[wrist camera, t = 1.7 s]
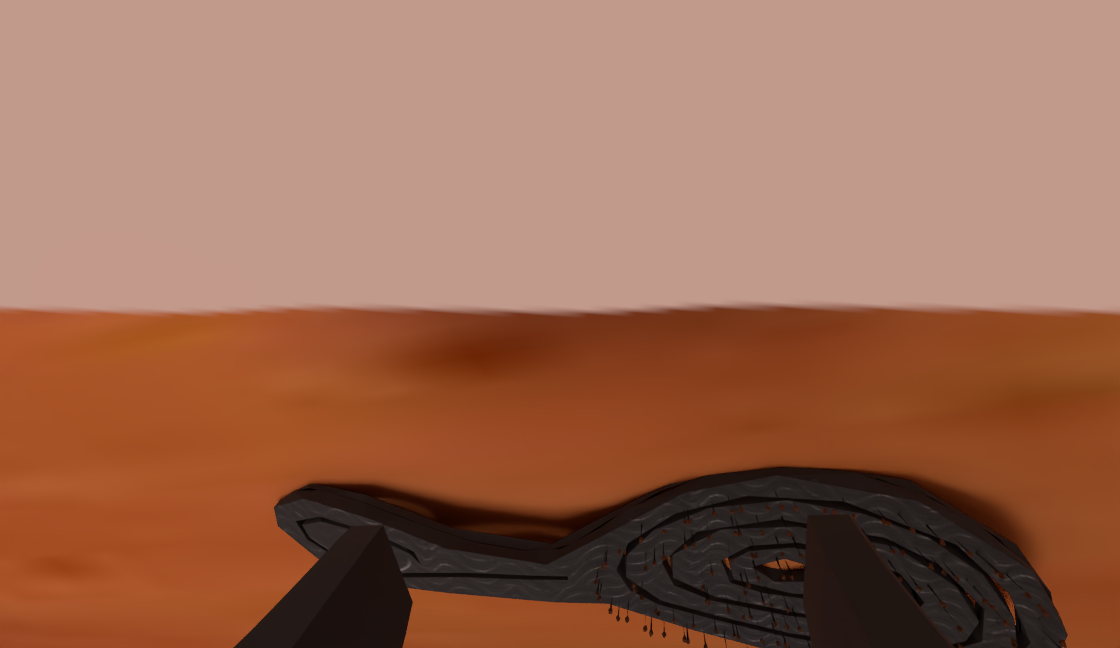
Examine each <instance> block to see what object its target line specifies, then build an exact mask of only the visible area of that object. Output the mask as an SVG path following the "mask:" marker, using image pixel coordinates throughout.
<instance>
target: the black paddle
mask: <svg viewBox="0 0 1120 648" xmlns="http://www.w3.org/2000/svg"><path fill="white" fill-rule="evenodd" d="M867 476H869V477H867ZM870 477H875V479H873V478H870ZM689 481H690V482H689ZM689 481H684V482H679V483H674V484H669V485H667V486H665V487H662V488H660V489H657V490H655V491H652V492H650V493H648V494H646V495H644V496H642V497H640V498H638V499H636V500H634V501H632V502H630V503H629V504H627V505H625V506H623V507H621V508H619V509H617V510H615V511H613V512H611V513H610V514H608V515H606V516H604V517H602V518H600V519H598V520H596V521H595V522H593V523H591V524H589V525H587V526H585V527H583V528H581V529H579V530H578V531H576V532H574V533H572V534H570V535H568V536H566V537H564V538H563V539H561V540H559V541H557V542H555V543H553V544H551V543H545V542H538V541H532V540H526V539H519V538H513V537H506V536H500V535H494V534H487V533H481V532H475V531H468V530H462V529H455V528H451V527H449V526H446V525H444V524H441V523H438V522H436V521H433V520H431V519H428V518H425V517H423V516H420V515H418V514H415V513H412V512H410V511H407V510H405V509H402V508H399V507H397V506H394V505H392V504H389V503H386V502H384V501H381V500H379V499H376V498H373V497H371V496H368V495H365V494H361V493H356V492H352V491H347V490H343V489H339V488H334V487H330V486H325V485H312V484H309V485H307V486H305V487H303V488H301V489H298V490H302V489H306V488H313V489H316V490H303V491H298V490H296V491H293V492H292V493H290V494H289V495H288V496H286V497H285V498H283V499H282V500H280V501H279V502H278V503H277V505H276V506H275V507H274V510H275V514H276V519H277V524H278V527H280V528H281V529H282V530H283V531H285V532H286V533H287V534H288V535H290V536H291V537H292V538H293V539H294V540H296V541H297V542H298V543H299V544H301V545H302V546H303V547H304V548H306V549H307V550H308V551H309V552H311V553H312V554H313V555H314V556H315V557H317V558H318V559H320V558H321V557H322V556H323V555H324V554H325V553H326V552H327V551H328V550H329V549H330V548H331V547H332V546H333V544H334V543H335V542H336V541H337V540H338V539H339V538H340V537H341V536H342V535H343V534H344V533H345V532H346V531H347V530H348V529H349V528H350V527H351V526H367V525H383V526H384V528H385V531H386V534H387V536H388V539H389V541H390V544H391V547H392V549H393V552H394V555H395V557H396V560H397V562H398V565H399V568H400V570H401V573H402V576H403V578H404V581H405V583H406V586H407V588H413V589H421V590H429V591H437V592H446V593H456V594H467V595H478V596H490V597H501V598H512V599H523V600H535V601H546V602H566V603H604V604H611V606H610V609H609V614H610V613H611V615H612V605H615V606H618V607H621V608H624V609H627V610H631V611H634V612H637V613H640V614H644V615H645V621H646V615H647V616H650V617H651V629H650V632H649V634H650V637H651V636H652V635H653V631H652V617H653V618H656V619H660V620H663V621H666V622H669V623H673V624H676V625H679V626H682V627H685V628H689V629H692V630H695V631H699V632H703V633H707V634H710V635H714V636H718V637H722V638H726V639H729V640H733V641H737V642H741V643H744V644H748V645H752V646H756V647H760V648H812V644H811V639H810V634H809V629H808V624H807V619H806V614H805V609H804V604H803V591H804V572H805V570H799V571H795V570H793V571H790V569H789V566H788V564H787V562H786V564H787V567H788V570H789V571H786V570H781V568H780V569H775V568H769V567H763V566H759V565H761V564H765V563H769V562H773V561H777V563H778V565H779V562H778V560H781V559H788V560H791V561H794V562H798V563H801V564H805V553H806V533H807V515H836V514H848V515H850V516H851V517H852V518H853V519H855V521H856V522H857V524H858V525H859V526H860V528H861V529H862V531H863V532H864V534H865V535H866V536H867V538H868V539H869V541H870V542H871V543H872V545H873V546H874V548H875V549H876V550H877V552H878V553H879V554H880V556H881V557H882V558H883V560H884V561H885V562H886V564H887V565H888V566H889V568H890V569H891V570H892V572H893V573H894V574H895V575H896V577H897V578H898V579H899V581H900V582H901V583H902V584H903V586H904V587H905V588H906V590H907V591H908V592H909V593H910V595H911V596H912V597H913V598H914V600H915V601H916V602H917V603H918V605H919V606H920V607H921V608H922V609H923V611H924V612H925V613H926V614H927V615H928V617H929V618H930V619H931V620H932V621H933V622H934V624H935V625H936V626H937V627H938V628H939V630H940V631H941V632H942V633H943V634H944V636H945V637H946V638H947V639H948V640H949V641H950V643H951V644H952V645H953V646H954V647H955V648H1062V647H1065V648H1067V647H1066V644H1065V640H1066V638H1067V636H1068V635H1067V632H1066V630H1065V628H1064V625H1063V623H1062V620H1061V618H1060V616H1059V613H1058V611H1057V609H1056V608H1055V606H1054V604H1053V602H1052V597H1051V592H1050V591H1049V589H1048V588H1047V587H1046V585H1045V584H1044V583H1043V581H1042V580H1041V578H1040V577H1039V576H1038V574H1037V573H1036V572H1035V570H1034V569H1033V567H1032V566H1031V565H1030V563H1029V562H1028V561H1027V559H1026V558H1025V556H1024V555H1023V554H1022V552H1021V551H1020V549H1019V548H1018V547H1017V545H1016V544H1014V543H1013V542H1011V541H1010V540H1008V539H1006V538H1005V537H1003V536H1001V535H1000V534H998V533H996V532H995V531H993V530H991V529H990V528H988V527H986V526H985V525H983V524H981V523H980V522H978V521H976V520H975V519H973V518H971V517H970V516H968V515H966V514H965V513H963V512H961V511H960V510H958V509H956V508H955V507H953V506H951V505H950V504H948V503H946V502H945V501H943V500H941V499H940V498H938V497H936V496H935V495H933V494H931V493H930V492H928V491H926V490H925V489H923V488H921V487H920V486H918V485H916V484H915V483H913V482H911V481H910V480H904V479H898V478H892V477H887V476H881V475H875V474H867V473H858V472H848V471H839V470H833V471H831V470H830V469H827V470H822V469H813V468H789V467H780V468H770V469H761V470H751V471H742V472H733V473H723V474H714V475H707V476H703V477H700V478H697V479H694V480H689ZM686 482H688V483H686ZM682 483H685V484H683V485H681V486H678V487H676V488H674V489H671V490H669V491H667V492H664V493H662V494H660V495H657V496H655V497H653V498H651V499H648V500H646V499H647V498H649V497H650V496H652V495H654V494H656V493H657V492H659V491H661V490H663V489H666V488H669V487H673V486H676V485H679V484H682ZM625 549H626V553H625V557H624V556H623V554H624V551H625ZM669 556H670V561H671V567H672V568H671V567H670V565H669V564H668V562H667V561H666V560H665V559H666V558H667V557H669ZM727 557H728V560H729V563H730V567H731V570H730V569H729V568H728V567H727V566H726V565H725V564H724V563H723V562H722V561H721V560H723V559H725V558H727ZM785 561H786V560H785ZM668 565H669V566H668ZM803 566H804V565H803ZM779 567H780V565H779ZM670 568H671V569H672V570H671V569H670ZM804 569H805V567H804ZM988 574H989V575H990V576H991V577H992V578H993V579H994V580H995V581H996V582H997V583H998V584H999V585H1000V586H1001V587H1003V588H1004V589H1005V590H1006V591H1007V592H1008V593H1009V594H1010V597H1011V599H1012V601H1013V603H1014V609H1015V619H1016V625H1015V622H1014V618H1013V616H1012V614H1011V611H1010V609H1009V607H1008V605H1007V603H1006V601H1005V599H1004V596H1003V595H1002V593H1001V592H1000V591H999V589H998V588H997V586H996V585H995V583H994V582H993V580H992V579H991V577H990V576H989V575H988ZM910 586H911V587H912V588H913V589H912V590H911V588H910ZM964 590H965V591H966V592H967V593H968V594H969V595H970V596H971V597H972V598H973V599H974V600H975V601H976V602H975V608H974V607H973V604H972V601H971V600H970V599H969V598H968V597H967V595H966V594H965V591H964ZM616 619H617V621H619V620H620V617H619V610H618V616H617V617H616ZM625 621H626V623H627V622H629V617H628V612H627V617H626V618H625ZM643 630H644V632H646V631H647V626H644V627H643ZM662 635H663V637H664V638H665V636H666V633H665V629H664V632H663V633H662ZM704 641H705V635H704ZM683 642H685V643H686V642H687V644H689V643H690V640H689V637H688V629H687V640H686V636H685V634H684V637H683ZM725 643H726V640H725ZM704 648H707V644H706V642H705V645H704ZM726 648H727V647H726ZM747 648H748V647H747Z"/></svg>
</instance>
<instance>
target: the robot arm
mask: <svg viewBox="0 0 1120 648" xmlns="http://www.w3.org/2000/svg"><path fill="white" fill-rule="evenodd" d="M412 603H413V602H412V599H411V597H410V594H409V591H408V589H407V586H406V583H405V581H404V578H403V576H402V573H401V570H400V568H399V565H398V562H397V560H396V557H395V555H394V552H393V549H392V547H391V544H390V541H389V539H388V536H387V534H386V531H385V528H384V526H383V525H367V526H351V527H350V528H349V529H348V530H347V531H346V532H345V533H344V534H343V535H342V536H341V537H340V538H339V539H338V540H337V541H336V542H335V543H334V544H333V546H332V547H331V548H330V549H329V550H328V551H327V552H326V553H325V554H324V555H323V556H322V557H321V558H320V559H319V560H318V561H317V562H316V564H315V565H314V566H313V567H312V568H311V569H310V570H309V571H308V572H307V573H306V574H305V575H304V576H303V577H302V578H301V580H300V581H299V582H298V583H297V584H296V585H295V586H294V587H293V588H292V589H291V590H290V591H289V592H288V593H287V594H286V595H285V596H284V597H283V598H282V599H281V600H280V601H279V603H278V604H277V605H276V606H275V607H274V608H273V609H272V610H271V611H270V612H269V613H268V614H267V615H266V616H265V617H264V618H263V619H262V620H261V621H260V622H259V623H258V624H257V625H256V626H255V627H254V628H253V629H252V630H251V631H250V632H249V633H248V634H247V635H246V636H245V637H244V638H243V639H242V640H241V641H240V642H239V643H238V644H237V645H236V646H235V647H234V648H402V647H403V643H404V639H405V635H406V630H407V626H408V621H409V616H410V612H411V607H412ZM803 604H804V609H805V614H806V619H807V624H808V629H809V634H810V639H811V644H812V648H955V647H954V646H953V645H952V644H951V643H950V641H949V640H948V639H947V638H946V637H945V636H944V634H943V633H942V632H941V631H940V630H939V628H938V627H937V626H936V625H935V624H934V622H933V621H932V620H931V619H930V618H929V617H928V615H927V614H926V613H925V612H924V611H923V609H922V608H921V607H920V606H919V605H918V603H917V602H916V601H915V600H914V598H913V597H912V596H911V595H910V593H909V592H908V591H907V590H906V588H905V587H904V586H903V584H902V583H901V582H900V581H899V579H898V578H897V577H896V575H895V574H894V573H893V572H892V570H891V569H890V568H889V566H888V565H887V564H886V562H885V561H884V560H883V558H882V557H881V556H880V554H879V553H878V552H877V550H876V549H875V548H874V546H873V545H872V543H871V542H870V541H869V539H868V538H867V536H866V535H865V534H864V532H863V531H862V529H861V528H860V526H859V525H858V524H857V522H856V521H855V519H853V518H852V517H851V516H850V515H848V514H836V515H807V533H806V553H805V572H804V591H803Z"/></svg>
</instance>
